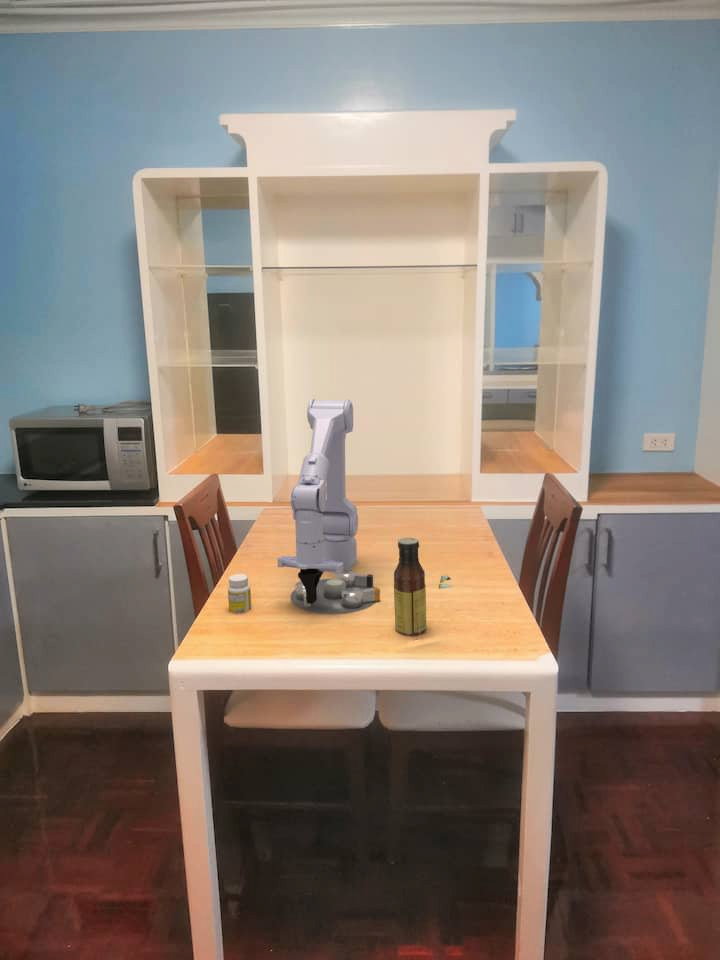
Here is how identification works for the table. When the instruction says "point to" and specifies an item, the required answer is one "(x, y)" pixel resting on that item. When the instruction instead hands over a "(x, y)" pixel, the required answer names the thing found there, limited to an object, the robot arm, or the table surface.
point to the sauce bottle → (409, 590)
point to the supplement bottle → (239, 594)
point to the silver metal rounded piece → (301, 593)
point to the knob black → (355, 578)
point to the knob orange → (359, 596)
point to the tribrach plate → (328, 603)
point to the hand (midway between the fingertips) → (310, 602)
